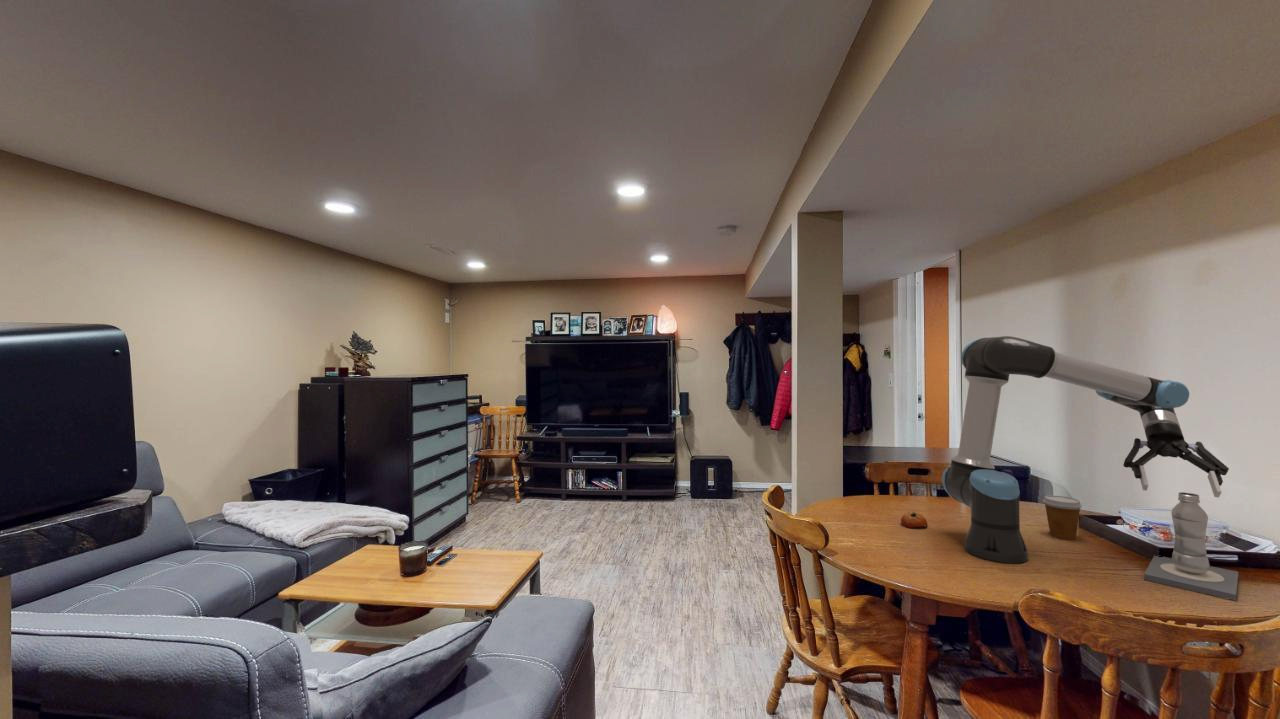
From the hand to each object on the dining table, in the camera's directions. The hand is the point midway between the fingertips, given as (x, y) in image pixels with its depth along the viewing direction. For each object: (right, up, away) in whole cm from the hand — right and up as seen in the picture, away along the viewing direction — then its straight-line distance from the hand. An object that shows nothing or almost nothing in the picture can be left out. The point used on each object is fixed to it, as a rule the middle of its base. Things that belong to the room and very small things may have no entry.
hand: (1180, 491), depth 134 cm
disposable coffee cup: (-11, -21, +25) cm, 35 cm away
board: (-5, -21, -7) cm, 22 cm away
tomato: (-52, -22, +37) cm, 68 cm away
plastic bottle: (-5, -19, -7) cm, 21 cm away
